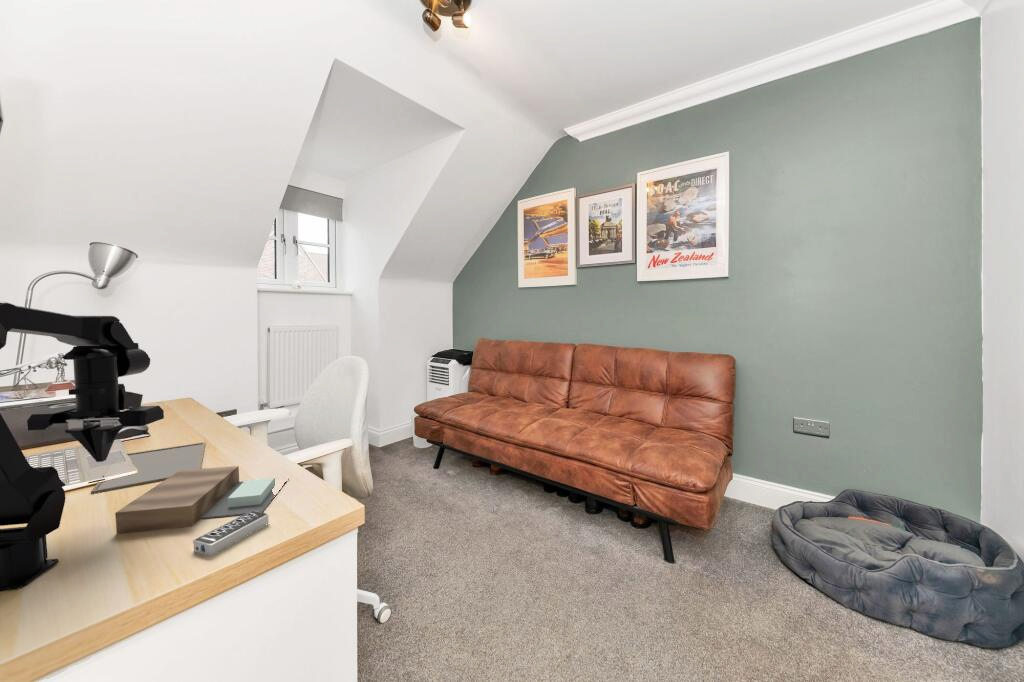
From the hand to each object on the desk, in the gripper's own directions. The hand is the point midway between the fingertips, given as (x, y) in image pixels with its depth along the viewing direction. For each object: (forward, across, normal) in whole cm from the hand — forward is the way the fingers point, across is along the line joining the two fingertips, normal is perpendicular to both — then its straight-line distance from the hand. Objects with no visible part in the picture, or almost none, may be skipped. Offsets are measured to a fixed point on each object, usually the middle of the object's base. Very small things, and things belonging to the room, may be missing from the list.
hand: (101, 461), depth 76 cm
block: (+9, -24, -6) cm, 26 cm away
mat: (+12, -23, -6) cm, 26 cm away
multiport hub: (+12, -27, +10) cm, 32 cm away
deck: (+12, -12, -4) cm, 17 cm away
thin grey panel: (+12, +10, -30) cm, 34 cm away
